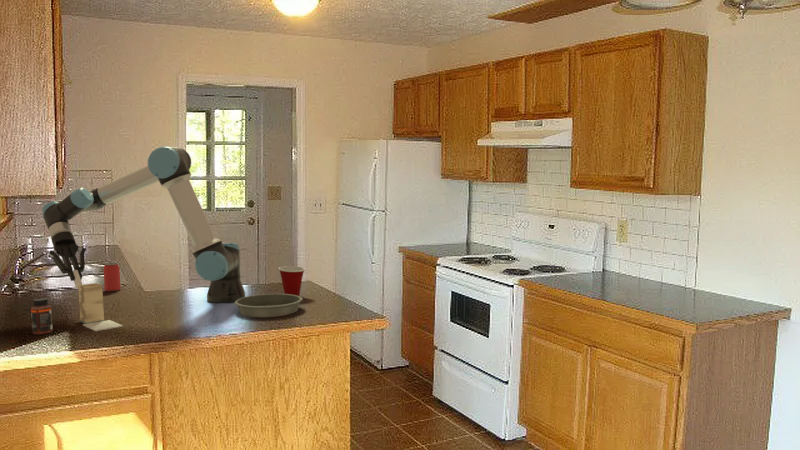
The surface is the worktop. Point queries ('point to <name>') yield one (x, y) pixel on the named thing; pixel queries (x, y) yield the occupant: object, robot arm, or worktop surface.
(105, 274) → the beer can
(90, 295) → the beech block
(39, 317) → the supplement bottle
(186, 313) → the worktop surface
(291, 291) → the plastic cup
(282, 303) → the cake pan
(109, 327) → the mat
